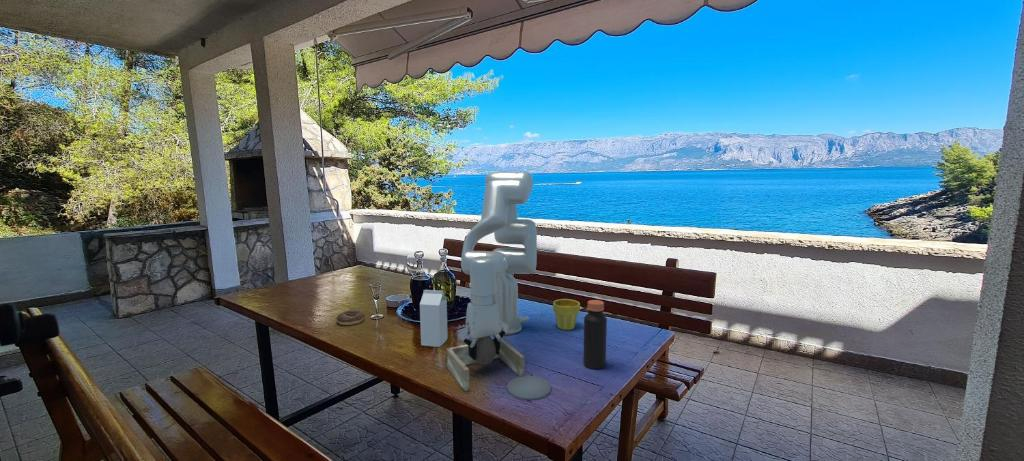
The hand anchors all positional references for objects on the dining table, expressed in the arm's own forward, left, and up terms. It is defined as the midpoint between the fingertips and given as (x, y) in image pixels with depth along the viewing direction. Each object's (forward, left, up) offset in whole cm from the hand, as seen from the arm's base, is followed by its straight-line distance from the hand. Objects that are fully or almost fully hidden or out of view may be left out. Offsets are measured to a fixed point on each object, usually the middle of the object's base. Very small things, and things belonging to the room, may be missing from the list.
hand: (484, 354), depth 122 cm
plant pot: (-42, -18, -5) cm, 47 cm away
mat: (-6, +16, -5) cm, 18 cm away
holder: (+1, +1, -5) cm, 5 cm away
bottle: (-31, +13, -5) cm, 34 cm away
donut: (+32, -64, -5) cm, 72 cm away
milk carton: (+8, -27, -5) cm, 29 cm away
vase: (0, 0, -2) cm, 2 cm away
